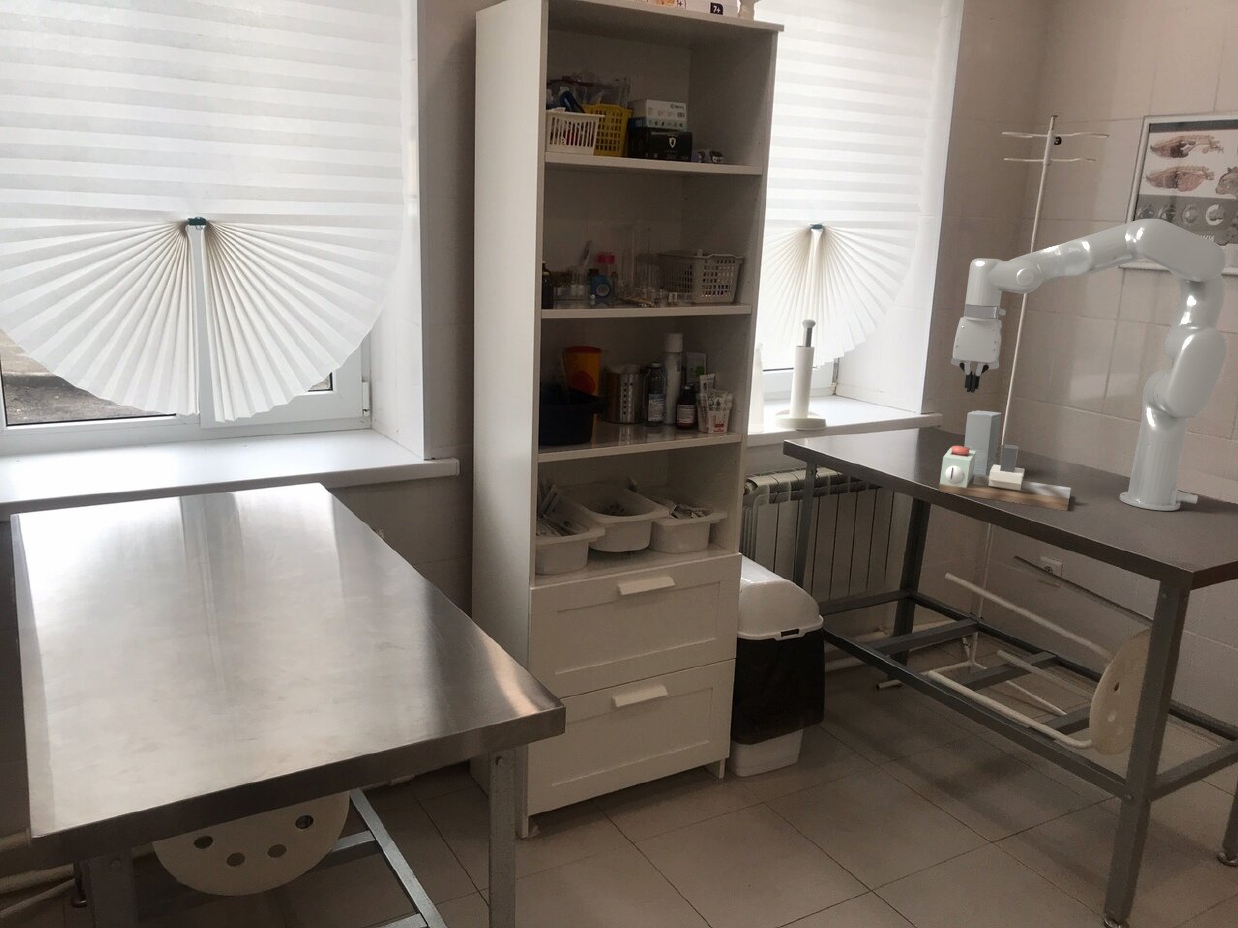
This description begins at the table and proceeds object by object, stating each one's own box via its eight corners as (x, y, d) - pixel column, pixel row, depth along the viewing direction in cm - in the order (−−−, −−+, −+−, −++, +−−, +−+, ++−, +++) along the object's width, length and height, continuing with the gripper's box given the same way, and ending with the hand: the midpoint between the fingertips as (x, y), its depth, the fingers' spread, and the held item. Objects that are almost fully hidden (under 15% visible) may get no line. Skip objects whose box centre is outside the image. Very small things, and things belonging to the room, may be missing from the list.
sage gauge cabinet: (972, 476, 242) (976, 451, 240) (965, 488, 231) (969, 461, 229) (947, 473, 244) (950, 447, 243) (939, 484, 233) (943, 457, 232)
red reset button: (968, 460, 238) (970, 447, 237) (966, 463, 234) (968, 450, 233) (951, 457, 239) (953, 445, 238) (949, 461, 236) (951, 448, 235)
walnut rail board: (1069, 496, 234) (1071, 482, 233) (1067, 510, 222) (1069, 495, 221) (946, 478, 246) (948, 464, 245) (938, 490, 233) (940, 476, 232)
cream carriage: (1022, 484, 235) (1028, 445, 233) (1019, 491, 228) (1025, 452, 226) (991, 479, 238) (996, 441, 236) (987, 486, 231) (993, 447, 229)
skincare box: (986, 478, 247) (995, 416, 244) (957, 472, 252) (966, 411, 248) (996, 472, 254) (1005, 412, 250) (968, 467, 258) (977, 407, 254)
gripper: (1017, 314, 228) (1006, 393, 233) (949, 309, 235) (940, 386, 239) (1014, 317, 222) (1003, 397, 226) (945, 311, 228) (935, 390, 232)
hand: (970, 391), depth 233 cm, fingers closed
